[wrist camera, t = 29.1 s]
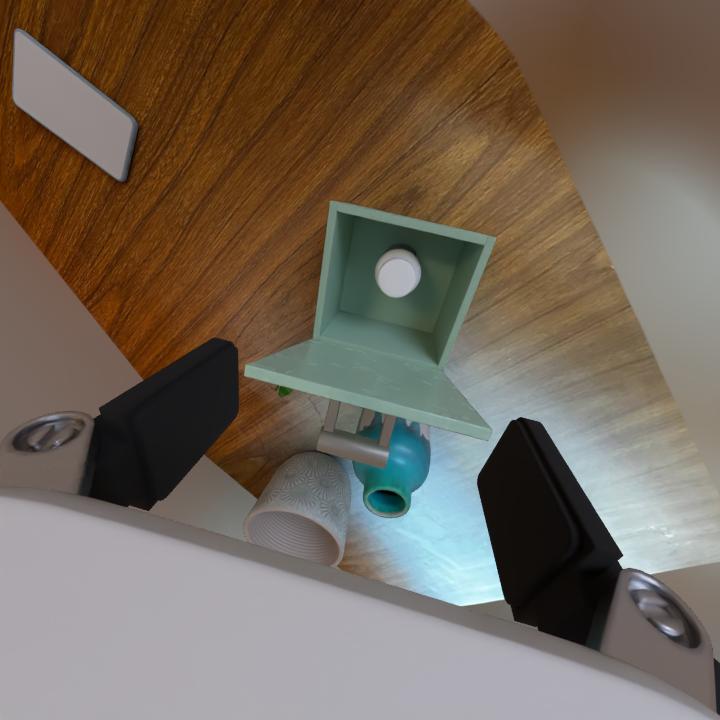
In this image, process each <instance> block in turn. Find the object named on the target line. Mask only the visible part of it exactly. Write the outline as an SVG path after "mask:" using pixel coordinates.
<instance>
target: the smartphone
mask: <svg viewBox="0 0 720 720" xmlns="http://www.w3.org/2000/svg"><path fill="white" fill-rule="evenodd" d="M12 98H13V101H14V103H15V104H16V105H17V106H18V107H19V108H20V109H22V110H23V111H24V112H26V113H27V114H28V115H30V116H31V117H32V118H34V119H35V120H36V121H38V122H39V123H40V124H42V125H43V126H44V127H46V128H47V129H48V130H50V131H51V132H53V133H54V134H55V135H57V136H58V137H59V138H61V139H62V140H63V141H65V142H66V143H67V144H69V145H70V146H71V147H73V148H74V149H75V150H77V151H78V152H80V153H81V154H82V155H84V156H85V157H86V158H88V159H89V160H90V161H92V162H93V163H94V164H96V165H97V166H98V167H100V168H101V169H102V170H104V171H105V172H107V173H108V174H109V175H111V176H112V177H113V178H115V179H116V180H117V181H120V182H124V181H126V179H127V175H128V171H129V166H130V162H131V157H132V153H133V149H134V144H135V140H136V135H137V131H138V124H137V121H136V120H135V118H134V117H133V116H131V115H130V114H129V113H128V112H126V111H125V110H124V109H123V108H121V107H120V106H119V105H117V104H116V103H115V102H114V101H112V100H111V99H110V98H109V97H107V96H106V95H105V94H104V93H102V92H101V91H100V90H99V89H97V88H96V87H95V86H93V85H92V84H91V83H90V82H88V81H87V80H86V79H85V78H83V77H82V76H81V75H80V74H78V73H77V72H76V71H74V70H73V69H72V68H71V67H69V66H68V65H67V64H66V63H64V62H63V61H62V60H61V59H59V58H58V57H57V56H56V55H54V54H53V53H52V52H51V51H49V50H48V49H47V48H45V47H44V46H43V45H42V44H40V43H39V42H38V41H37V40H35V39H34V38H33V37H32V36H30V35H29V34H28V33H26V32H25V31H23V30H21V29H16V30H15V31H14V51H13V85H12Z"/></svg>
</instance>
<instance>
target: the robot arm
mask: <svg viewBox="0 0 720 720" xmlns="http://www.w3.org/2000/svg"><path fill="white" fill-rule="evenodd" d="M99 410H100V413H101V414H100V415H99V416H97V417H96V418H94V419H93V418H92V417H91V416H90V415H89V414H86V413H83V412H77V411H64V412H56V413H51V414H46V415H43V416H40V417H37V418H34V419H31V420H29V421H27V422H25V423H23V424H21V425H19V426H18V427H16V428H15V429H13V430H12V431H11V432H9V433H8V434H7V435H6V437H5V438H4V439H3V440H2V442H1V444H0V720H720V663H719V662H718V661H717V660H715V659H714V658H713V648H712V644H711V640H710V637H709V635H708V634H707V632H706V630H705V628H704V626H703V624H702V623H701V621H700V620H699V619H698V617H697V616H696V615H695V614H694V612H693V611H692V610H691V608H689V606H688V605H687V604H686V603H685V602H684V601H683V600H682V599H681V598H680V597H679V596H678V595H677V594H676V593H674V592H673V591H672V590H671V589H670V588H669V587H667V586H666V585H665V584H664V583H662V582H661V581H659V580H657V579H656V578H654V577H653V576H651V575H649V574H647V573H645V572H643V571H641V570H637V569H632V568H627V569H622V567H621V566H620V564H619V562H618V560H619V559H620V558H621V557H623V554H622V553H621V551H620V549H619V548H618V546H617V544H616V543H615V541H614V540H613V538H612V536H611V535H610V533H609V532H608V530H607V528H606V527H605V525H604V523H603V522H602V520H601V519H600V517H599V515H598V514H597V512H596V510H595V509H594V507H593V506H592V504H591V502H590V501H589V499H588V498H587V496H586V494H585V493H584V491H583V489H582V488H581V486H580V485H579V483H578V481H577V480H576V478H575V476H574V475H573V473H572V472H571V470H570V468H569V467H568V465H567V463H566V462H565V460H564V459H563V457H562V455H561V454H560V452H559V451H558V449H557V447H556V446H555V444H554V442H553V441H552V439H551V438H550V436H549V434H548V433H547V431H546V429H545V428H544V426H543V425H542V424H541V423H540V422H538V421H534V420H530V419H526V418H522V417H520V418H518V419H517V420H512V421H511V422H510V423H509V425H508V427H507V428H506V430H505V432H504V433H503V435H502V437H501V438H500V440H499V442H498V443H497V445H496V447H495V448H494V450H493V452H492V453H491V455H490V457H489V458H488V460H487V462H486V463H485V465H484V467H483V468H482V470H481V472H480V473H479V475H478V479H477V486H478V490H479V494H480V499H481V503H482V507H483V511H484V515H485V520H486V524H487V528H488V532H489V536H490V541H491V545H492V549H493V553H494V557H495V562H496V566H497V570H498V574H499V578H500V583H501V587H502V591H503V595H504V598H505V600H506V602H507V603H508V604H510V605H511V608H512V612H513V616H514V620H515V621H517V622H520V623H524V624H527V625H531V626H534V627H536V626H537V627H538V631H537V630H534V629H531V628H528V627H525V626H522V625H519V624H515V623H513V622H509V621H506V620H503V619H500V618H496V617H493V616H490V615H487V614H483V613H480V612H477V611H474V610H471V609H467V608H464V607H461V606H457V605H454V604H451V603H448V602H444V601H441V600H438V599H435V598H431V597H428V596H425V595H421V594H418V593H415V592H412V591H408V590H405V589H402V588H399V587H395V586H392V585H389V584H385V583H382V582H379V581H375V580H372V579H369V578H365V577H362V576H359V575H356V574H352V573H349V572H346V571H342V570H339V569H336V568H332V567H329V566H326V565H322V564H319V563H316V562H312V561H309V560H306V559H302V558H299V557H296V556H292V555H289V554H285V553H282V552H279V551H275V550H272V549H269V548H265V547H262V546H259V545H255V544H252V543H248V542H245V541H242V540H238V539H234V538H231V537H228V536H225V535H221V534H218V533H214V532H211V531H207V530H204V529H201V528H197V527H194V526H191V525H187V524H184V523H180V522H177V521H174V520H170V519H166V518H163V517H160V516H156V515H153V514H149V513H145V512H142V511H138V510H134V509H130V508H127V507H128V506H129V505H130V506H133V507H137V508H140V509H143V510H147V511H149V510H150V509H151V508H152V507H153V506H154V504H155V503H156V502H157V501H158V500H159V501H161V500H163V499H165V498H166V497H167V496H168V495H169V494H170V493H171V492H172V491H173V489H174V488H175V487H176V486H177V485H178V484H179V482H180V481H181V480H182V479H183V478H184V477H185V476H186V474H187V473H188V472H189V471H190V470H191V469H192V468H193V466H194V465H195V464H196V463H197V462H198V461H199V460H200V458H201V457H202V456H203V455H204V454H205V453H206V452H207V450H208V449H209V448H210V447H211V446H212V445H213V444H214V442H215V441H216V440H217V439H218V438H219V437H220V435H221V434H222V433H223V432H224V431H225V430H226V429H227V427H228V426H229V425H230V424H231V423H232V422H233V421H234V419H235V418H236V416H237V414H238V411H239V377H238V349H237V348H236V347H234V344H233V343H232V342H231V341H227V340H223V339H219V338H212V339H210V340H209V341H207V342H205V343H204V344H202V345H201V346H199V347H197V348H196V349H194V350H192V351H191V352H189V353H188V354H186V355H184V356H183V357H181V358H179V359H178V360H176V361H175V362H173V363H171V364H170V365H168V366H166V367H165V368H163V369H162V370H160V371H158V372H157V373H155V374H153V375H152V376H150V377H149V378H147V379H145V380H144V381H142V382H140V383H139V384H137V385H136V386H134V387H132V388H131V389H129V390H127V391H126V392H124V393H123V394H121V395H119V396H118V397H116V398H115V399H113V400H111V401H110V402H108V403H106V404H105V405H103V406H101V407H100V408H99Z"/></svg>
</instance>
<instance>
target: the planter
mask: <svg viewBox="0 0 720 720" xmlns="http://www.w3.org/2000/svg"><path fill="white" fill-rule="evenodd" d="M350 502H351V485H350V481H349V477H348V475H347V473H346V471H345V470H344V468H343V467H342V466H341V465H340V463H339V462H338V461H336V460H335V459H334V458H332V457H330V456H328V455H326V454H323V453H319V452H303V453H299V454H296V455H294V456H292V457H290V458H289V459H288V460H286V461H285V462H284V463H283V464H282V465H281V466H280V467H279V468H278V470H277V471H276V472H275V474H274V475H273V477H272V479H271V480H270V482H269V483H268V485H267V486H266V488H265V489H264V491H263V493H262V494H261V496H260V497H259V499H258V500H257V502H256V504H255V505H254V507H253V508H252V510H251V512H250V513H249V514H248V516H247V518H246V519H245V522H244V534H245V537H246V539H247V541H248V542H249V543H252V544H255V545H259V546H262V547H265V548H269V549H272V550H275V551H279V552H282V553H285V554H289V555H292V556H296V557H299V558H302V559H306V560H309V561H312V562H316V563H319V564H322V565H326V566H329V567H332V568H334V567H335V566H337V565H338V564H339V563H340V561H341V560H342V557H343V553H344V546H345V538H346V531H347V524H348V517H349V510H350Z"/></svg>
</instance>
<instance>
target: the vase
mask: <svg viewBox="0 0 720 720" xmlns="http://www.w3.org/2000/svg"><path fill="white" fill-rule="evenodd" d="M385 415H386V414H384V413H381V412H377V411H373V410H369V409H366V408H364V409H363V411H362V414H361V416H360V419H359V423H358V426H357V430H356V434H357V435H361V436H364V437H368V438H372V439H375V440H379V437H380V433H381V430H382V426H383V422H384V419H385ZM389 444H390V450H389V455H388V460H387V463H386V466H385V468H384V469H382V468H378V467H375V466H371V465H367V464H364V463H360V462H357V461H353V460H352V463H353V468H354V471H355V474H356V476H357V477H358V479H359V480H360V481H361V482H362V484H363V485H364V492H363V501H364V504H365V506H366V508H367V509H368V510H369V511H370V512H372V513H373V514H375V515H378V516H380V517H385V518H397V517H400V516H403V515H404V514H406V513H407V512H408V510H409V508H410V504H411V493H412V492H414V491H415V490H417V489H418V488H419V487H420V486H421V485H422V484H423V483H424V481H425V480H426V478H427V475H428V472H429V466H430V456H431V449H430V431H429V425H426V424H422V423H418V422H414V421H411V420H407V419H403V418H399V417H396V420H395V423H394V427H393V430H392V434H391V437H390V441H389Z"/></svg>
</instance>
